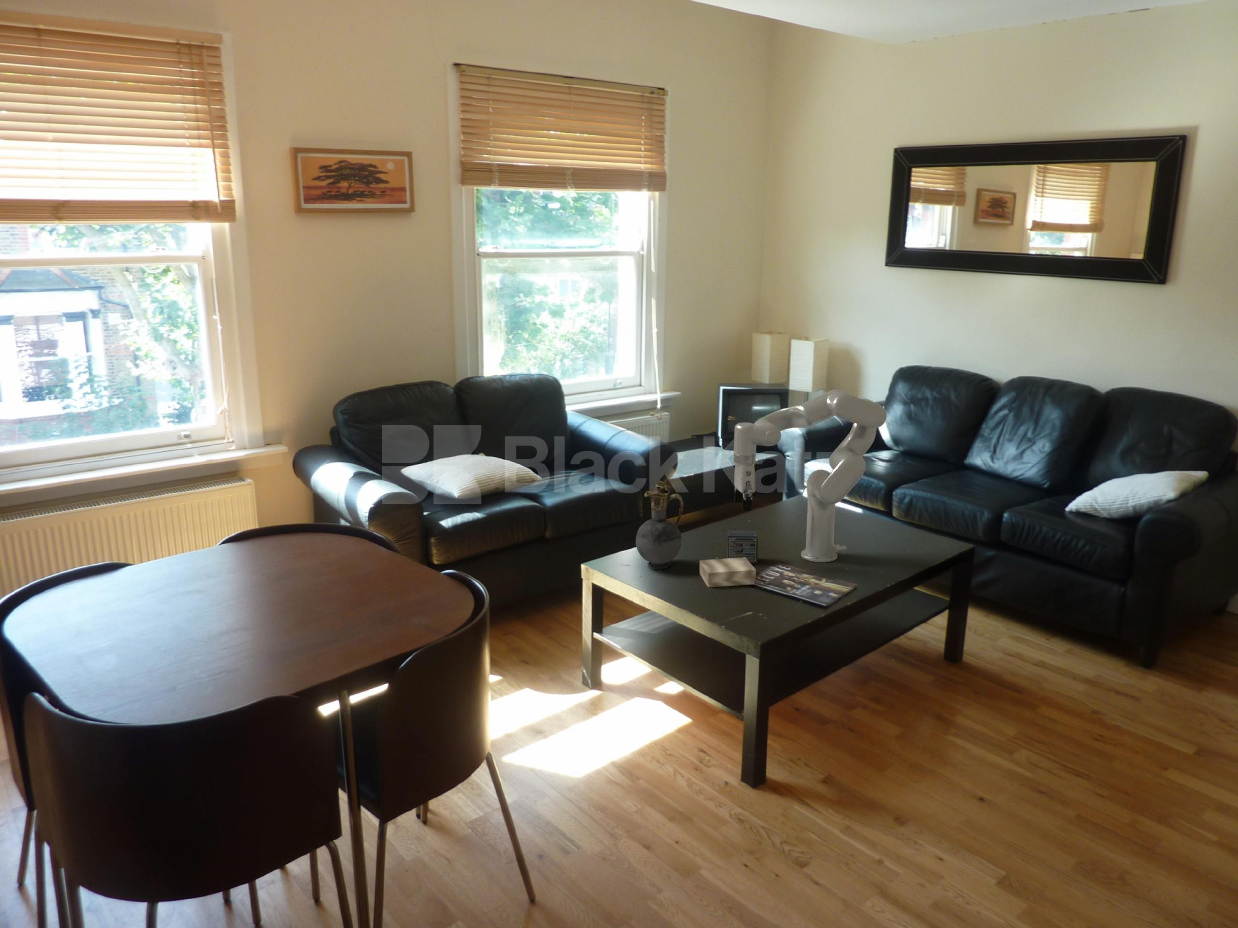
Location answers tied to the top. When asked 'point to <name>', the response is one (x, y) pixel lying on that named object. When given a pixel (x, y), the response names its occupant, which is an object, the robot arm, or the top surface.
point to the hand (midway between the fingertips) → (742, 506)
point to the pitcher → (659, 530)
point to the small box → (743, 545)
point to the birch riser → (727, 572)
